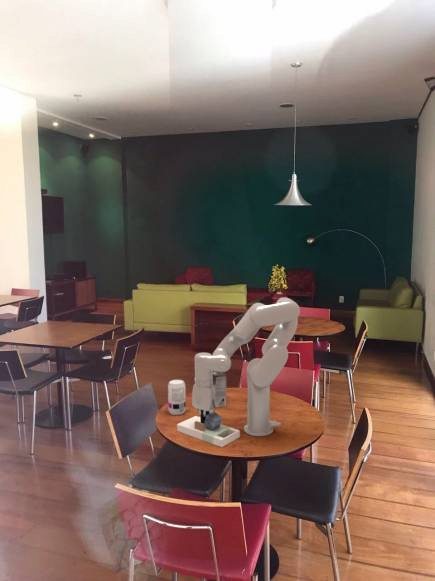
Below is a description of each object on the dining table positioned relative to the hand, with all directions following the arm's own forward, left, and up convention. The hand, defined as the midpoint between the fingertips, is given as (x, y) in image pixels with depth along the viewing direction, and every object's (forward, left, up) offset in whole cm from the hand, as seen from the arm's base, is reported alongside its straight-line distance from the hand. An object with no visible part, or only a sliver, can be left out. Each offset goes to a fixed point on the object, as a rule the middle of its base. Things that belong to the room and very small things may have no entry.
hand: (204, 423), depth 201 cm
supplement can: (+12, -25, -4) cm, 28 cm away
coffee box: (-8, -34, -4) cm, 35 cm away
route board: (-1, +1, -4) cm, 5 cm away
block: (-3, +2, 0) cm, 4 cm away
